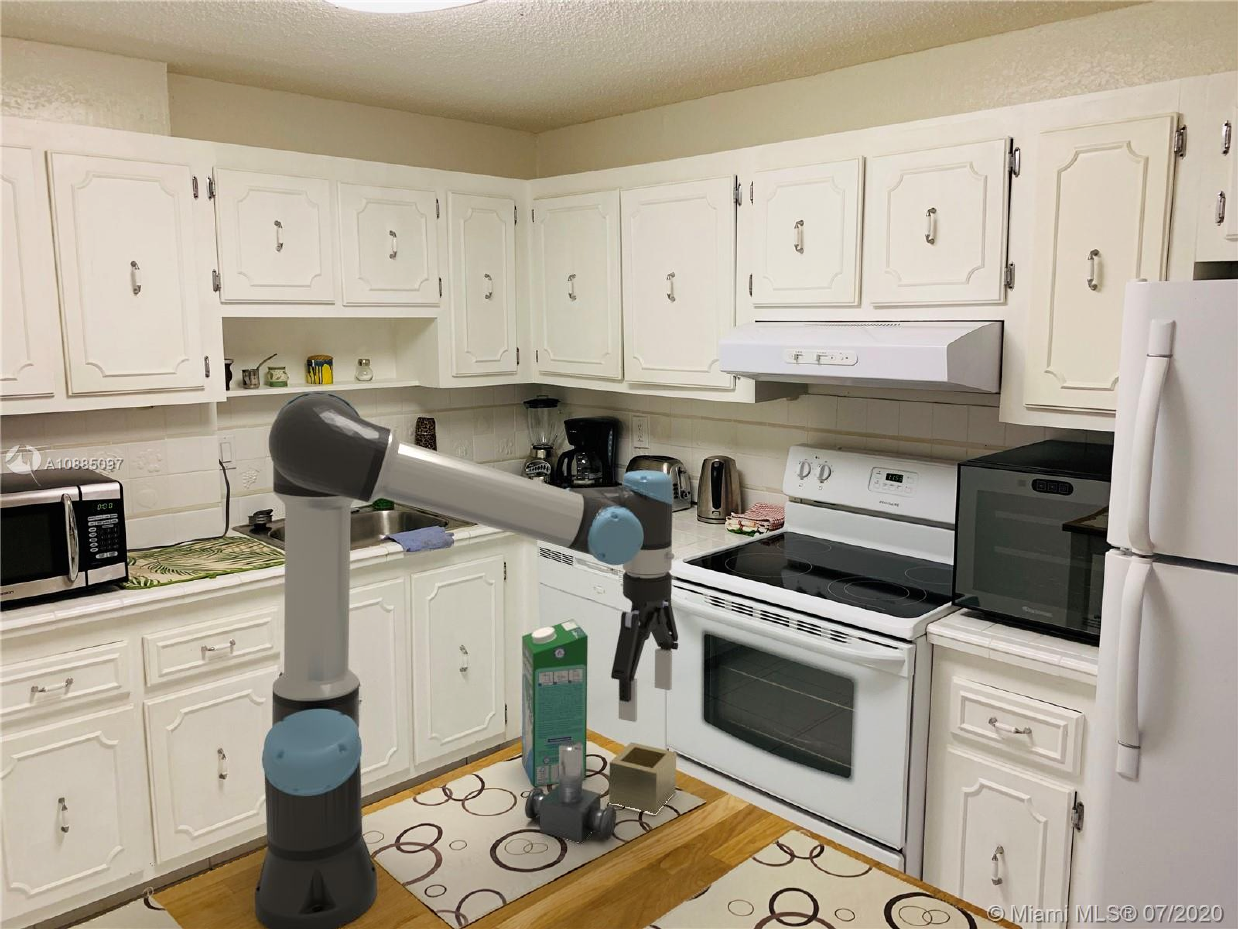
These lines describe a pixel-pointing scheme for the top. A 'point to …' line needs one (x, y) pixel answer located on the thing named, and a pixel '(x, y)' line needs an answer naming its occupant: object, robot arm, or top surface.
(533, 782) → the milk carton
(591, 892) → the top surface
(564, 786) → the valve
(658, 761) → the collar
